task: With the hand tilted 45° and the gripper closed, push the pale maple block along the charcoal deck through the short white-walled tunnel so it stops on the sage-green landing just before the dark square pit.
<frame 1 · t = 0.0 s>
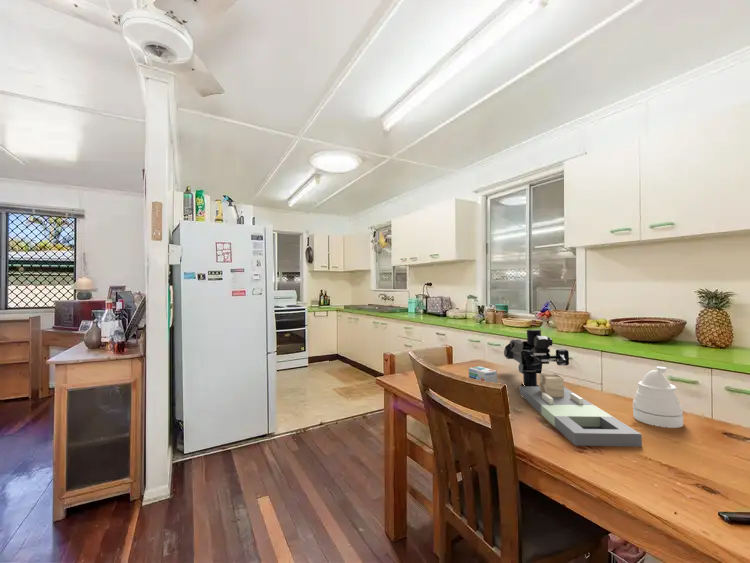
hand: (552, 361, 130), 17 cm above the table, tool horizontal, fingers open, 9 cm apart
maple block: (551, 393, 132), point 3 cm above the table, touching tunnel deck
light bulb box: (483, 394, 145), on the table
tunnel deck: (569, 415, 118), on the table
honey pot: (657, 420, 113), on the table
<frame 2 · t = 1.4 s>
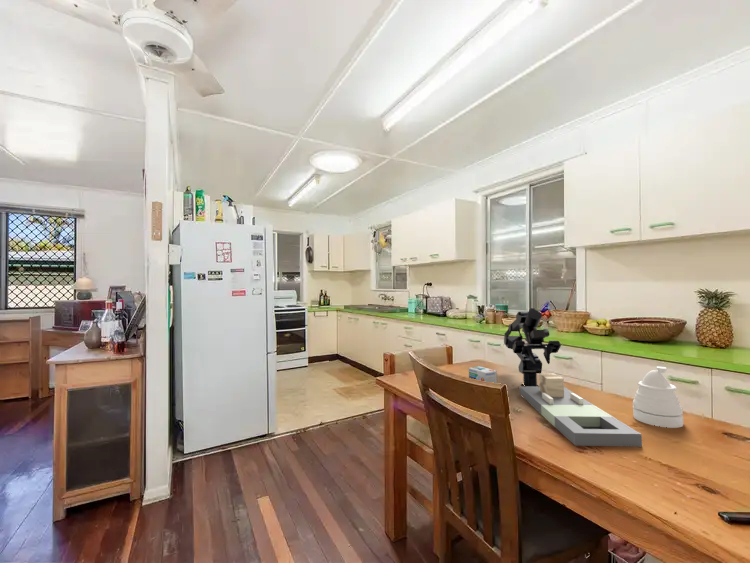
hand: (542, 363, 140), 14 cm above the table, tool tilted 45°, fingers open, 5 cm apart
nothing on the table moved.
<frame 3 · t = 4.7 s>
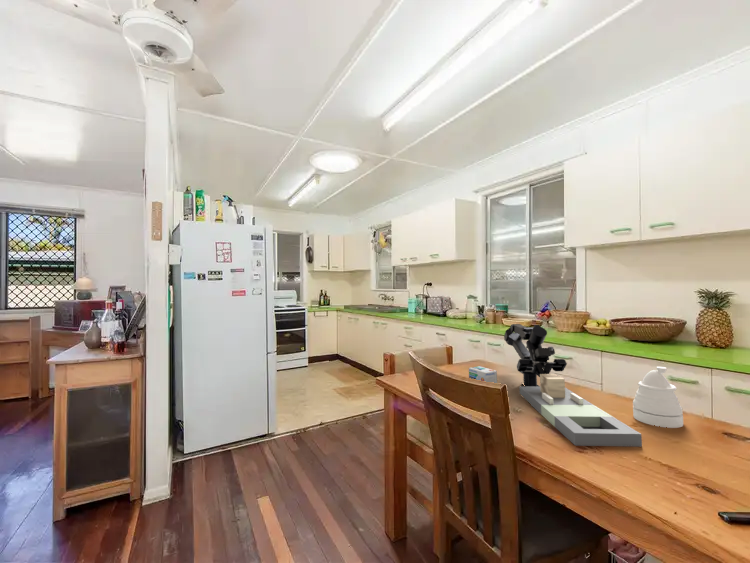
hand: (547, 383, 136), 7 cm above the table, tool tilted 45°, fingers closed
nothing on the table moved.
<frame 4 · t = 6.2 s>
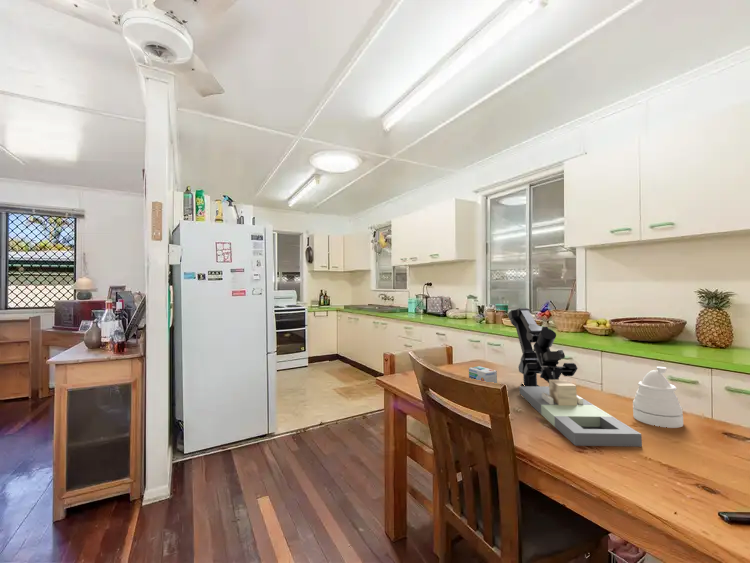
hand: (557, 389, 127), 7 cm above the table, tool tilted 45°, fingers closed
maple block: (562, 401, 123), point 4 cm above the table, touching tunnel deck
everything else where it was.
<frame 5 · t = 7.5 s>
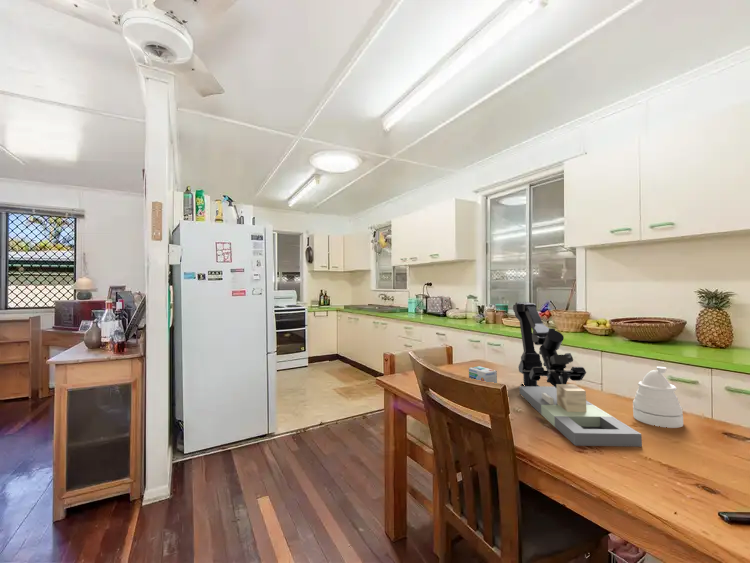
hand: (565, 394, 121), 7 cm above the table, tool tilted 45°, fingers closed, pressing on maple block
maple block: (571, 407, 116), point 4 cm above the table, touching gripper
everything else where it was.
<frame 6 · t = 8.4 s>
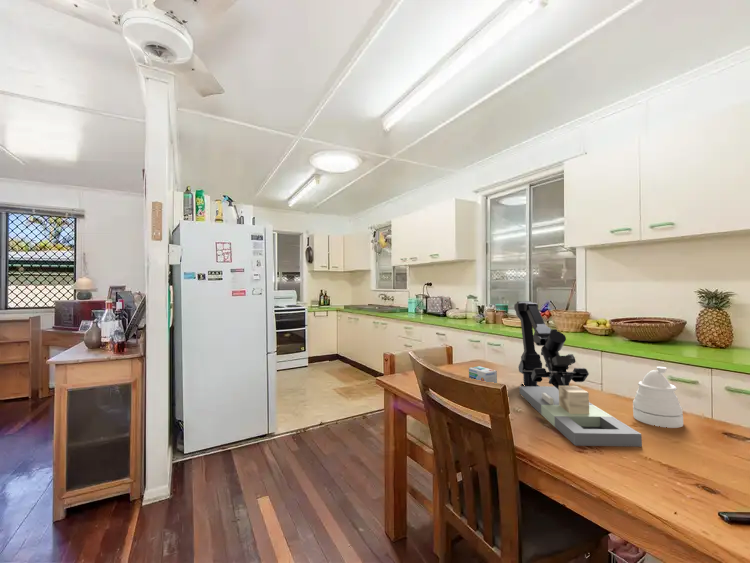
hand: (567, 396, 119), 7 cm above the table, tool tilted 45°, fingers closed, pressing on maple block
maple block: (573, 409, 115), point 3 cm above the table, touching gripper, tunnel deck
everything else where it was.
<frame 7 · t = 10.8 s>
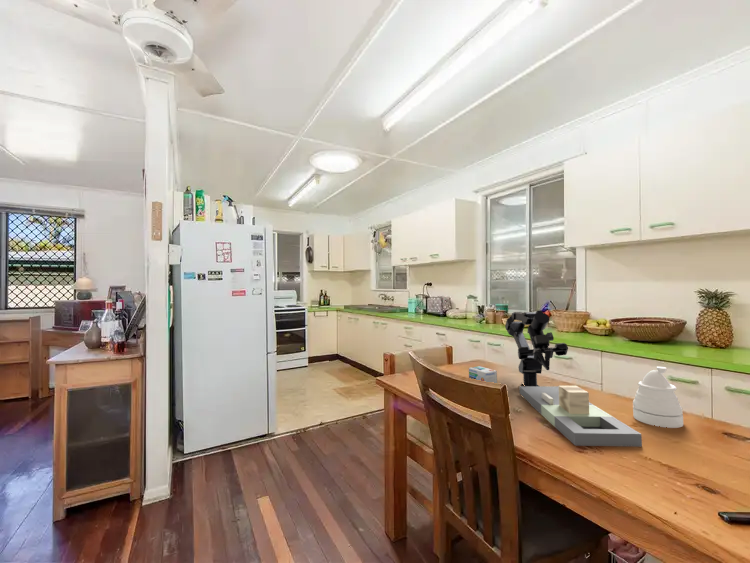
hand: (548, 369, 135), 12 cm above the table, tool tilted 40°, fingers closed
maple block: (573, 409, 115), point 3 cm above the table, touching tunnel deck
everything else where it was.
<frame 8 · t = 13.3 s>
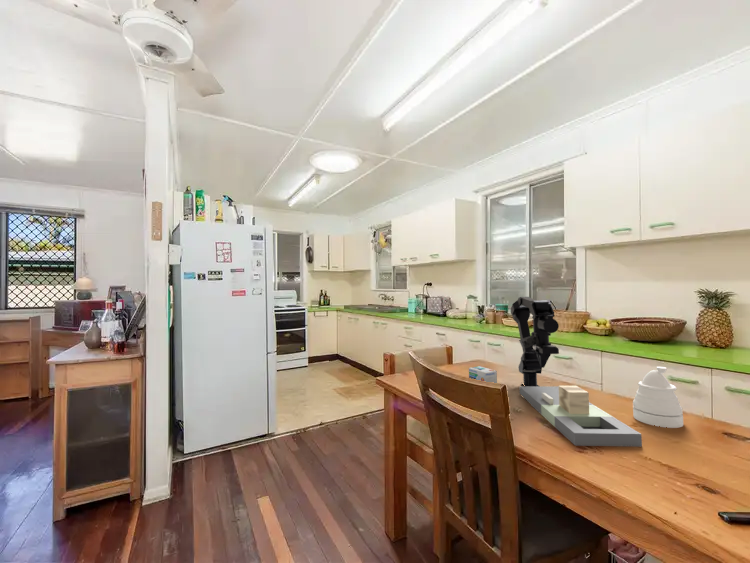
hand: (542, 367, 140), 12 cm above the table, tool pointing down, fingers closed
nothing on the table moved.
at the end: maple block inside the target area (1.5 cm from its centre), point 3.5 cm above the table; maple block tilted 0° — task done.
